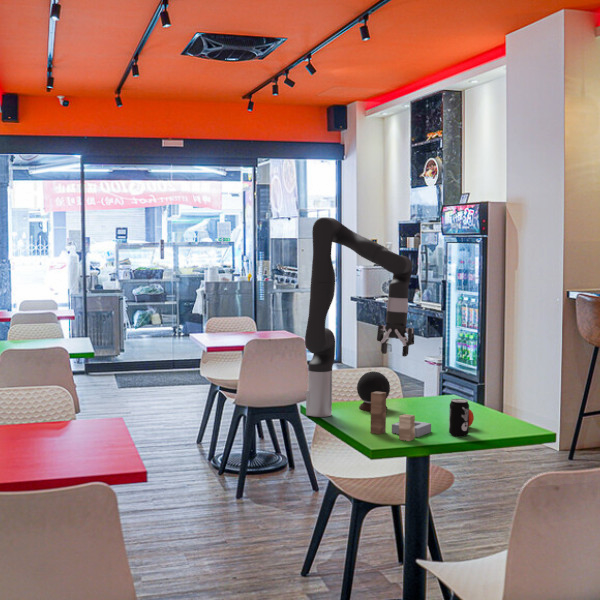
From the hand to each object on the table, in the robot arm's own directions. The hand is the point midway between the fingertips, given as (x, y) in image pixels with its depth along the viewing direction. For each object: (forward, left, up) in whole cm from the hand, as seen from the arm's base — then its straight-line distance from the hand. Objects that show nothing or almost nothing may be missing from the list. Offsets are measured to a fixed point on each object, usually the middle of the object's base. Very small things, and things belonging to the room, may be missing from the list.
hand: (394, 355), depth 288 cm
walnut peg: (-3, -16, -25) cm, 30 cm away
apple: (+24, +2, -26) cm, 35 cm away
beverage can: (+24, -10, -26) cm, 37 cm away
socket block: (+8, -12, -25) cm, 29 cm away
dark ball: (-13, +25, -26) cm, 38 cm away
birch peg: (+8, -22, -25) cm, 35 cm away
